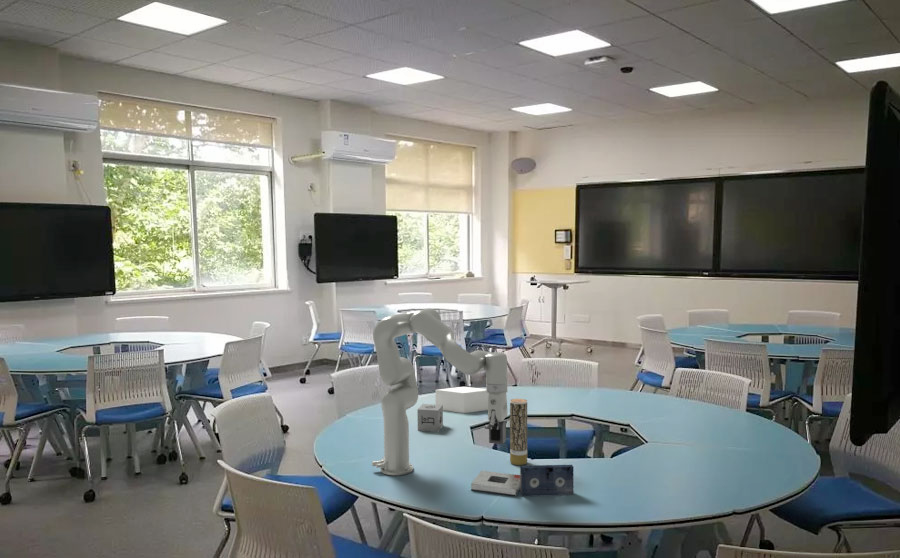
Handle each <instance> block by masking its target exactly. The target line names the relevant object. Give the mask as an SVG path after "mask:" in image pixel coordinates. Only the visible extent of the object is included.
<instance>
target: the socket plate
mask: <svg viewBox="0 0 900 558" xmlns="http://www.w3.org/2000/svg"><path fill="white" fill-rule="evenodd" d="M470 491H473V492H480V493H488V494H495V495H501V496H508V497H509V496H510V497H517V494H518V493H519V492H520V474H515V473H514V474H513V473H512V474H511V473H506V472H504V473H503V472H495V471H488V470H481V471H480V472H479V473H478V474H477V476H475V478H474V479H473V480H472V482H471V483H470Z"/></svg>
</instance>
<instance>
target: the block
mask: <svg viewBox="0 0 900 558" xmlns="http://www.w3.org/2000/svg"><path fill="white" fill-rule="evenodd" d="M488 395H489V393H487V392H486V388H479V387H472V386H471V387H470V386H458V387H448V388H441V389H440V388H439V389H435V405H443V411H445V412H455V413H460V414H467V413H474V412H480V411H482V412H483V411H488Z"/></svg>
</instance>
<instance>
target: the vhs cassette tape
mask: <svg viewBox="0 0 900 558" xmlns="http://www.w3.org/2000/svg"><path fill="white" fill-rule="evenodd" d="M519 467H520V468H519V471H520V473H519V475H520V490H519V493H520V495H521V497H541V496H543V497H544V496H545V497H546V496H547V497H549V496H570V495H571V496H573V495H574V492H575V491H574V487H575V486H574V466H573V464H543V465H541V464H540V465H539V464H538V465H519Z"/></svg>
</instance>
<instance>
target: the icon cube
mask: <svg viewBox="0 0 900 558" xmlns="http://www.w3.org/2000/svg"><path fill="white" fill-rule="evenodd" d="M416 411H417V431H421V432H422V431H424V432H439V431H440V430H441V429H442V427H443V426H444V410H443V405H436V404H428V403H422V404H421V405H420V406H419V407H418V408H417V410H416Z"/></svg>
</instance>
